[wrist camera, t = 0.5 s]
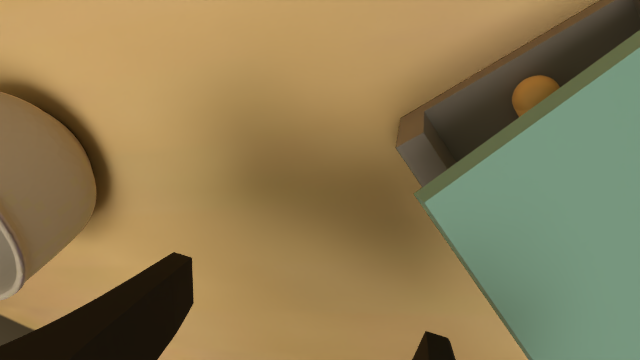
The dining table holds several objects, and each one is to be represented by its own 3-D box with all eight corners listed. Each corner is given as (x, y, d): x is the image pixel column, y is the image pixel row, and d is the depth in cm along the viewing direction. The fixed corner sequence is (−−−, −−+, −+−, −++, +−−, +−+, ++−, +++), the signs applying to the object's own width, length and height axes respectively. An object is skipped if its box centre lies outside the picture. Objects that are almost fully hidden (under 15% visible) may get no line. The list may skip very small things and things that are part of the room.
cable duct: (782, 290, 17) (859, 358, 14) (548, 341, 21) (567, 400, 18) (656, -34, 13) (726, -36, 10) (400, 118, 17) (395, 147, 14)
